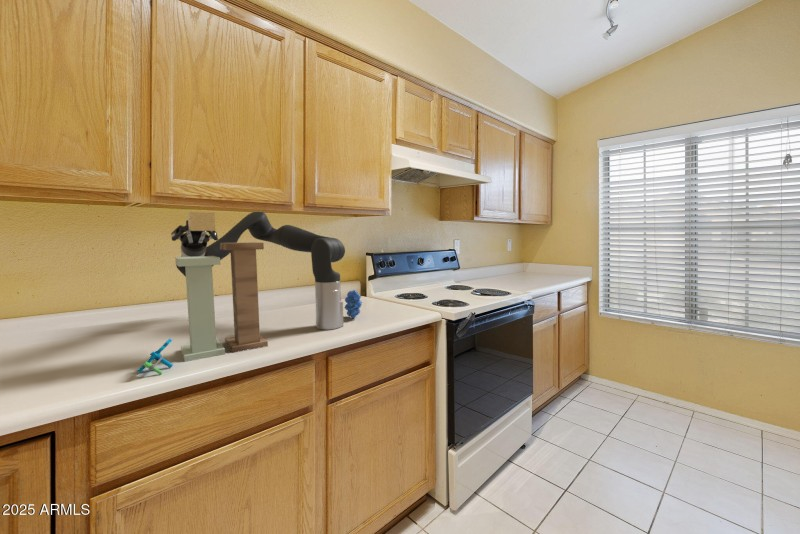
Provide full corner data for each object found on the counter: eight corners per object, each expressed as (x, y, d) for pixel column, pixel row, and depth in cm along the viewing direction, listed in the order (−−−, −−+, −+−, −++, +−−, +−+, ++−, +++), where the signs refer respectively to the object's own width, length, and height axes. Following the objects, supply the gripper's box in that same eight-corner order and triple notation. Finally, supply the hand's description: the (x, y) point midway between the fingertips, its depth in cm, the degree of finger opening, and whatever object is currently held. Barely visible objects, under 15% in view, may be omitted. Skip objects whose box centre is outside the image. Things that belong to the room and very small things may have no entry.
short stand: (181, 350, 104) (175, 257, 102) (218, 343, 110) (213, 255, 108) (184, 361, 95) (178, 259, 92) (225, 354, 101) (220, 257, 98)
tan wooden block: (184, 231, 112) (183, 215, 111) (205, 231, 115) (204, 216, 115) (190, 230, 95) (189, 212, 94) (215, 230, 98) (214, 212, 98)
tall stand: (225, 342, 112) (219, 242, 109) (257, 337, 117) (253, 242, 115) (232, 352, 102) (227, 243, 99) (267, 346, 108) (263, 242, 105)
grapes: (369, 319, 142) (369, 290, 141) (355, 321, 138) (354, 291, 137) (355, 314, 152) (354, 286, 150) (341, 316, 147) (340, 288, 146)
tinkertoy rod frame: (147, 357, 93) (173, 331, 93) (166, 370, 95) (192, 344, 95) (125, 379, 83) (154, 349, 83) (147, 393, 85) (176, 364, 85)
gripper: (217, 256, 123) (223, 231, 110) (170, 258, 115) (171, 231, 102) (215, 238, 126) (220, 211, 113) (168, 238, 118) (168, 210, 105)
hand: (197, 221), depth 108 cm, fingers closed on tan wooden block, 3 cm apart
